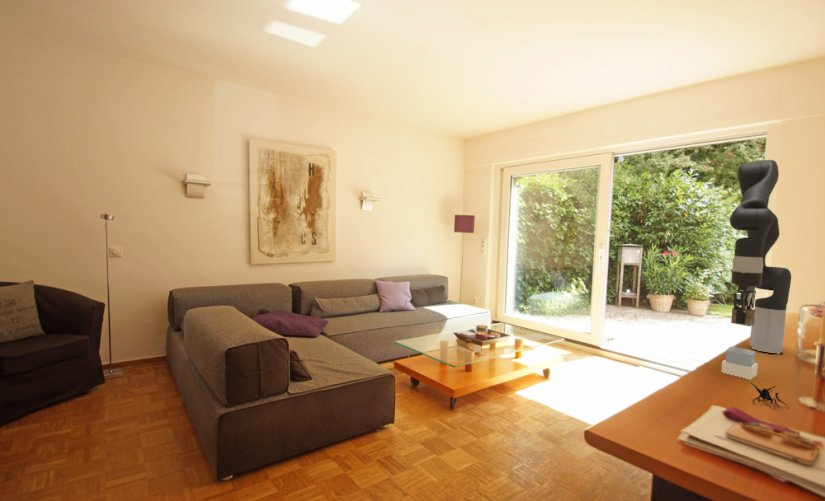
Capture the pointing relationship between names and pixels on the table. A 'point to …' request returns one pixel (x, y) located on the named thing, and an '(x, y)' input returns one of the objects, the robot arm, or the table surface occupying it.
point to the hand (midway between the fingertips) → (742, 322)
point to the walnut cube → (748, 317)
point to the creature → (767, 396)
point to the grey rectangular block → (740, 356)
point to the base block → (739, 370)
